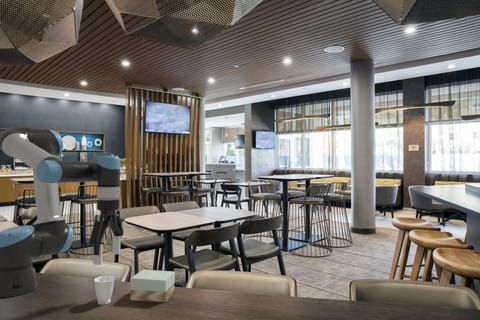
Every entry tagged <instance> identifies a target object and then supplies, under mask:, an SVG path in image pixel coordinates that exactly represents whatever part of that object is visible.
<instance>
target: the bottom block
mask: <svg viewBox="0 0 480 320" xmlns="http://www.w3.org/2000/svg"><path fill="white" fill-rule="evenodd" d="M174 292H175V283H174V284H173V285H172V286H171V287H170V288H169V289H168V290H167V291H166V292H158V291H144V290H131V289H130V293H129V294H130V297H129V299H130V300H129V301H136V302H137V301H138V302H141V301H142V302H161V303H167V302H168V300H169V299H170V297H171V296H172V294H173V293H174Z"/></svg>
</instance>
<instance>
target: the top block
mask: <svg viewBox="0 0 480 320" xmlns="http://www.w3.org/2000/svg"><path fill="white" fill-rule="evenodd" d="M175 283H176V271H170V270H168V271H167V270H154V269H142V270H140V271H139V272H137V273H136V274H134V275H133V276H132V277H131V278H130V291H131V290H144V291H158V292H166V291H167V290H168V289H169V288H170V287H171V286H172V285H173V284H174V285H175Z"/></svg>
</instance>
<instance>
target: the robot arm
mask: <svg viewBox="0 0 480 320" xmlns="http://www.w3.org/2000/svg"><path fill="white" fill-rule="evenodd" d="M63 148H64V141H63V138H62V136H61V135H60V133H58V132H57V131H56V130H53V129H49V128H37V127H28V126H27V127H26V126H11V127H9V128H6V129H4V130H3V131H2V132H0V150H1V152H2V153H4V154H5V155H7V156H9V157H13V158H15V159H18V160H19V161H21V162H23V164H26V165H27V166H28V167H30V168H31V169H32V177H33V178H32V179H33V189H34V197H35V208H36V218H37V219H36V221H35V222H34V223H33V225H27V224H26V225H19V226H18V225H17V226H13V227H9V228H6V229H3V230H1V231H0V298H10V297H16V296H21V295H23V294H24V295H25V294H27V293H30V292H32V291H35V289H36V288H37V287H38V280H37V278H36V274H35V271H34V268H33V259H37V258H42V257H47V256H51V255H58V254H60V253H64V252H66V251H68V250H69V248H70V247H71V245H72V244H73V242H74V241H73V240H74V229H73V228H72V226H71V224H69V223H66V219H65V218H64V217H63V216H62V214H61V213H62V212H61V205H60V195H59V187H58V185H59V184H61V183H62V184H63V183H64V184H65V183H91V182H92V183H95V182H97V186H96V190H97V191H96V198H97V200H96V210H97V211H99V212H100V213H99V214H95V216H94V223H93V227H92V230H91V233H90V238H89V242H88V244H89V245H90V246H92V248H93V252H92V253H93V254H92V256H93V257H92V264H93V265H95V266H96V265H97V266H98V265H99V266H100V265H101V266H102V265H103V244H102V241H103V239H104V236H105V234H106V231H107V228H110V230H111V232H112V233H113V236H112V251H111V252H112V253H111V254H112V255H120V254H121V237H123V236H124V228H123V224H122V218H121V210H120V205H121V204H120V199H119V198H120V194H121V191H122V190H121V189H120V188H121V187H120V186H121V185H120V183H121V168H122V167H121V159H120V157H119V156H118V155H99V156H98V157H97V161H88V160H87V161H86V160H85V161H84V160H83V161H78V160H77V161H75V160H61V159H59V156H61V154H62V153H63Z"/></svg>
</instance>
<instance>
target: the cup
mask: <svg viewBox="0 0 480 320" xmlns="http://www.w3.org/2000/svg"><path fill="white" fill-rule="evenodd" d="M114 284H115V276H112V275H100V276H98V277H96V278H94V289H95V296H96V299H97V304H98V305H100V306H101V305H107V304H110V303H111V299H112V296H113V291H114V286H115V285H114Z"/></svg>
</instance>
